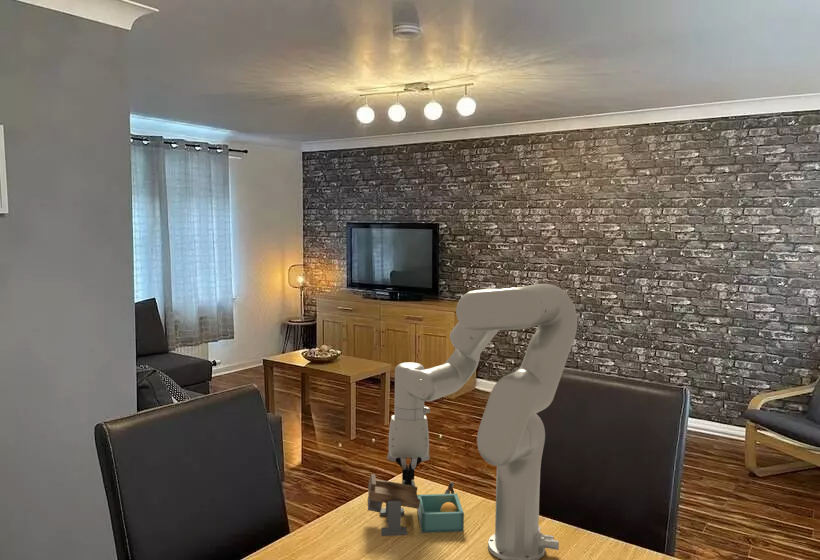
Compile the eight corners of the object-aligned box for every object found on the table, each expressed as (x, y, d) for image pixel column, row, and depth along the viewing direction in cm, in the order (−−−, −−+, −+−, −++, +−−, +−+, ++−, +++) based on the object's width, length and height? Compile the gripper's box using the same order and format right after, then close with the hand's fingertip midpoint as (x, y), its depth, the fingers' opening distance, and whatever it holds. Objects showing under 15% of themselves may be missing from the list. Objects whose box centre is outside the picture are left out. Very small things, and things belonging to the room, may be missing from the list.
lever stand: (403, 510, 158) (403, 481, 157) (407, 535, 145) (407, 503, 145) (379, 511, 157) (379, 482, 157) (381, 535, 145) (381, 504, 144)
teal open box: (456, 510, 158) (456, 493, 157) (463, 531, 147) (463, 513, 147) (417, 512, 157) (417, 494, 157) (421, 532, 147) (421, 514, 146)
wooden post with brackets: (458, 492, 167) (455, 480, 165) (446, 515, 160) (443, 503, 158) (451, 491, 167) (449, 479, 165) (439, 514, 161) (436, 501, 159)
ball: (434, 509, 153) (445, 521, 154) (441, 512, 149) (451, 524, 150) (446, 497, 154) (455, 508, 155) (452, 500, 151) (462, 512, 151)
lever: (410, 495, 161) (416, 471, 161) (415, 520, 148) (421, 494, 147) (365, 486, 160) (370, 462, 160) (365, 511, 146) (371, 485, 146)
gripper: (436, 407, 161) (435, 475, 163) (379, 408, 160) (378, 477, 162) (440, 416, 154) (439, 488, 156) (380, 417, 153) (379, 489, 154)
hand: (408, 482), depth 159 cm, fingers closed
